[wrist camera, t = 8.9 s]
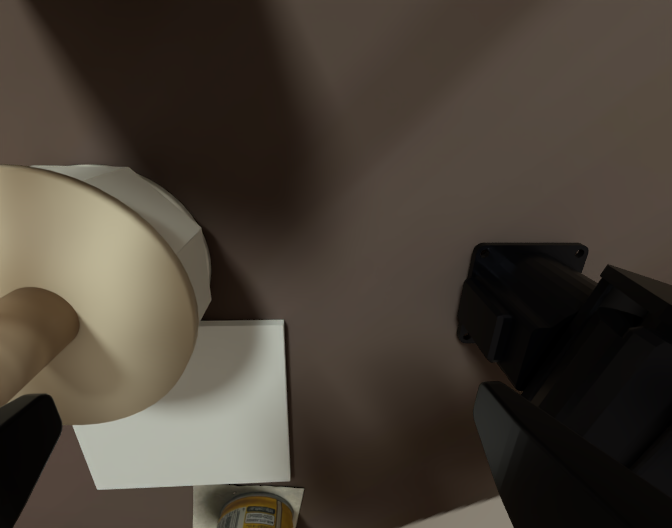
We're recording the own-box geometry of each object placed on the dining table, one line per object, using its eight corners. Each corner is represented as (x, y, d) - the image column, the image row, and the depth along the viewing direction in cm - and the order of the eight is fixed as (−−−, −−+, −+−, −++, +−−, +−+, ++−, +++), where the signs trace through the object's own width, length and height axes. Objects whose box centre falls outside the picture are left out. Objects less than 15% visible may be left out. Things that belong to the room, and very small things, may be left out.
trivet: (283, 319, 21) (283, 325, 21) (290, 473, 27) (290, 481, 26) (42, 323, 20) (35, 328, 20) (101, 481, 26) (97, 489, 25)
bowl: (198, 165, 17) (157, 185, 13) (220, 335, 21) (195, 396, 17) (-20, 162, 17) (-147, 181, 12) (46, 338, 21) (-29, 403, 16)
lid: (175, 166, 12) (110, 192, 8) (214, 407, 17) (183, 498, 13) (-178, 161, 12) (-434, 188, 8) (-37, 415, 16) (-150, 514, 12)
